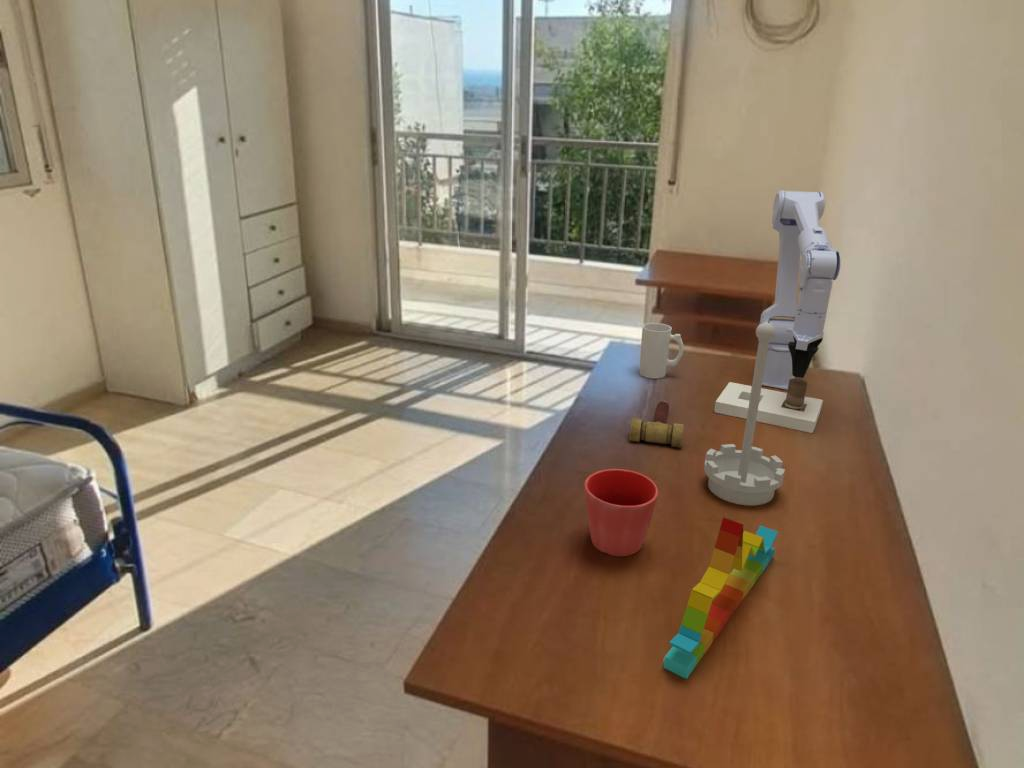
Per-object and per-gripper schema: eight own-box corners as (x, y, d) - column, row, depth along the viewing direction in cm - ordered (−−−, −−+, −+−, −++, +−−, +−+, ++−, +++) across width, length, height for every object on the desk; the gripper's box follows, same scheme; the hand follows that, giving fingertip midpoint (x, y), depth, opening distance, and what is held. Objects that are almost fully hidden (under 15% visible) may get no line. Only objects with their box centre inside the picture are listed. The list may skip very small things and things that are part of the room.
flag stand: (785, 513, 118) (818, 339, 107) (703, 503, 121) (727, 332, 109) (774, 475, 130) (803, 314, 119) (700, 466, 132) (721, 308, 121)
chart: (751, 550, 109) (767, 462, 103) (772, 558, 107) (789, 469, 101) (661, 668, 86) (674, 564, 81) (686, 681, 84) (701, 575, 79)
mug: (635, 376, 173) (640, 329, 169) (641, 367, 179) (645, 321, 175) (677, 383, 170) (683, 334, 166) (682, 373, 176) (687, 326, 172)
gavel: (642, 389, 158) (688, 395, 156) (640, 409, 160) (686, 415, 157) (630, 422, 139) (683, 429, 137) (628, 444, 141) (680, 451, 138)
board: (728, 392, 166) (729, 381, 165) (820, 410, 157) (822, 400, 156) (714, 412, 155) (715, 401, 154) (812, 433, 146) (815, 422, 145)
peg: (784, 411, 156) (791, 377, 153) (802, 415, 155) (809, 380, 152) (781, 417, 153) (787, 382, 150) (799, 421, 152) (806, 386, 149)
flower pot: (597, 568, 104) (601, 510, 100) (571, 526, 113) (574, 472, 110) (664, 558, 106) (671, 500, 103) (633, 518, 116) (638, 464, 112)
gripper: (796, 298, 153) (785, 359, 158) (784, 315, 141) (773, 380, 146) (831, 303, 150) (820, 365, 155) (823, 321, 138) (810, 387, 143)
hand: (800, 373), depth 150 cm, fingers open, 4 cm apart
